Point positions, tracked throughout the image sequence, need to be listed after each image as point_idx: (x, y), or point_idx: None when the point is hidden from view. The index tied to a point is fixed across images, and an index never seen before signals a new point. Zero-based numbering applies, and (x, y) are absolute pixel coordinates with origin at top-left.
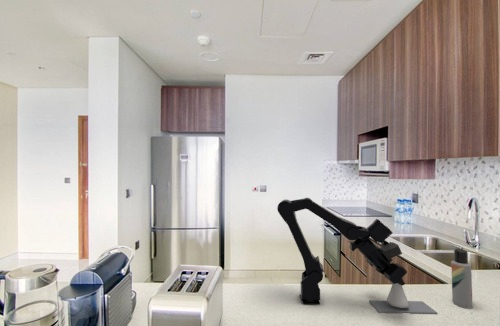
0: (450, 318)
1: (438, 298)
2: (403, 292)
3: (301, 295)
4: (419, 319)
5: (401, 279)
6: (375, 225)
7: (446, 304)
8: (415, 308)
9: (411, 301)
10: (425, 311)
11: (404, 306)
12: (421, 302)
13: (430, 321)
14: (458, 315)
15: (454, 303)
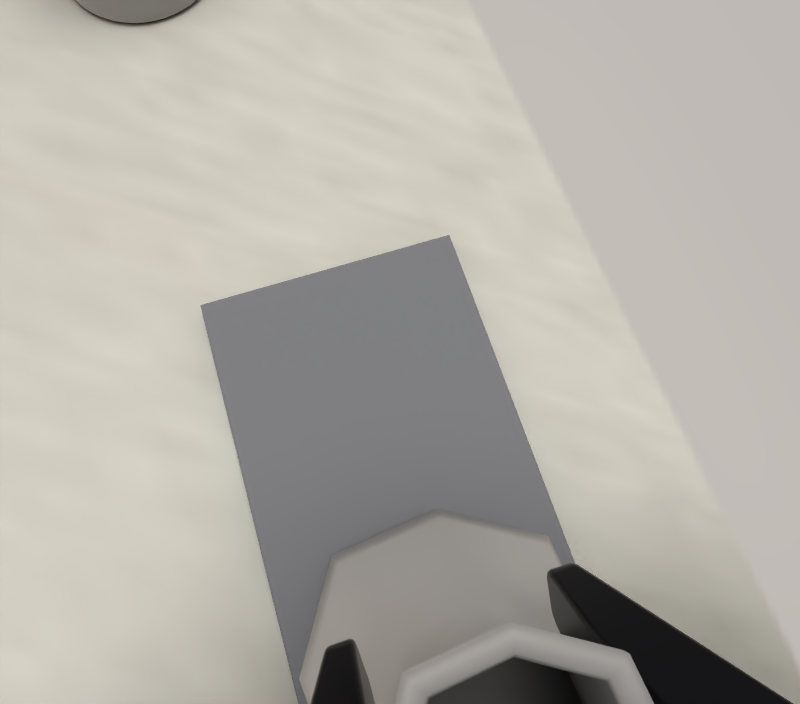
0: (491, 158)
1: (43, 118)
2: (549, 597)
3: None
4: (653, 459)
5: (721, 680)
6: None
7: (179, 92)
8: (434, 438)
9: (243, 436)
10: (469, 347)
11: None
12: (238, 325)
13: (645, 357)
14: (397, 74)
15: (153, 18)
